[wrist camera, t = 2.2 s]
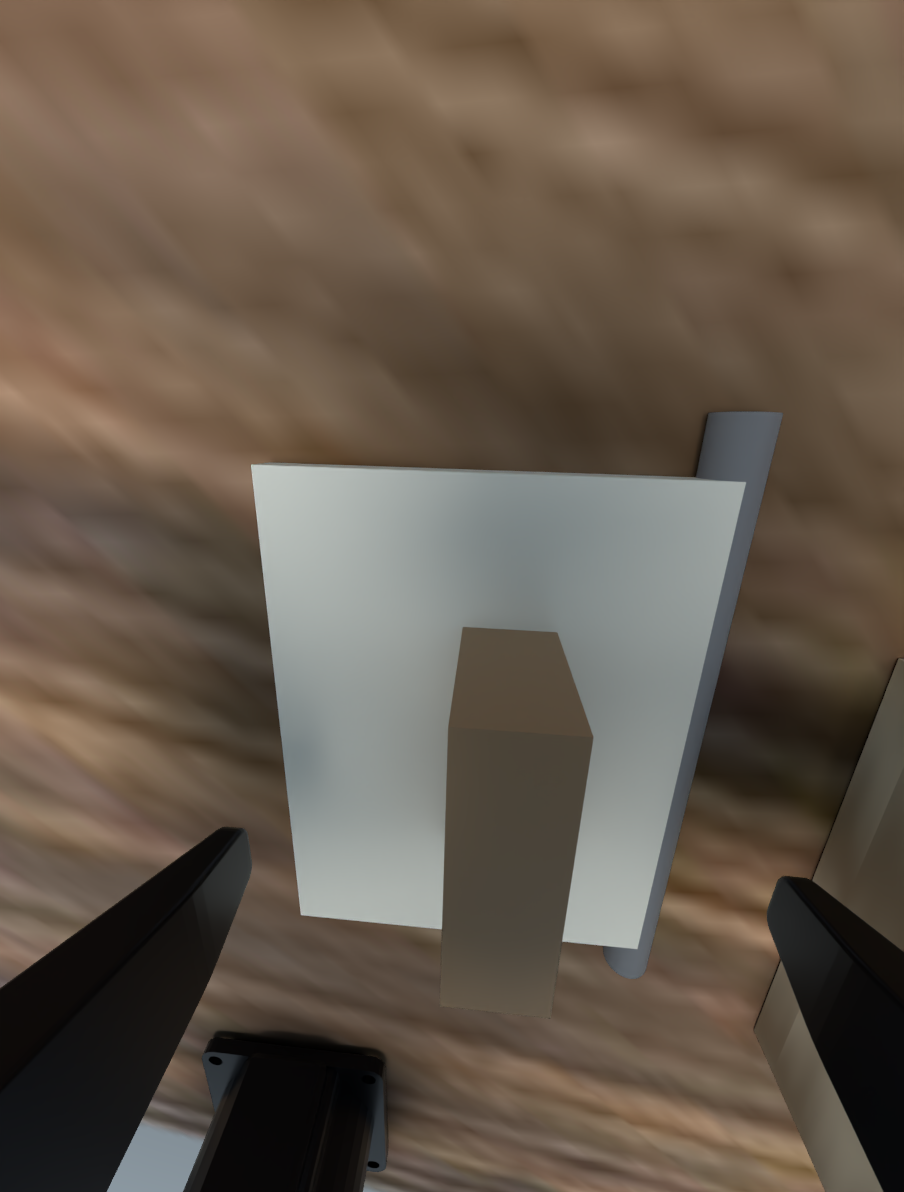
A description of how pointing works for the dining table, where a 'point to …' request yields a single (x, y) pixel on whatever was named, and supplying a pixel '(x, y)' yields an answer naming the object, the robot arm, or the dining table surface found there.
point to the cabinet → (879, 897)
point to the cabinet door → (501, 695)
